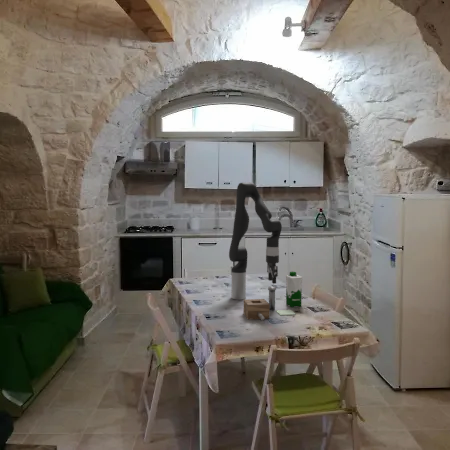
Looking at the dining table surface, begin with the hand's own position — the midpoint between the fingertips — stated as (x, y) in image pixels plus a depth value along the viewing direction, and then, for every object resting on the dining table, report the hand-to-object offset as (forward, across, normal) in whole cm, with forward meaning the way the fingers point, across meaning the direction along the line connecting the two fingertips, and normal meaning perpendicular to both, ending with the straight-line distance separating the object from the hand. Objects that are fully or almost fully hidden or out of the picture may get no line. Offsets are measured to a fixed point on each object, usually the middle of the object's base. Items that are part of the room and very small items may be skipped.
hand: (272, 281), depth 271 cm
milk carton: (+17, -8, +16) cm, 25 cm away
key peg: (+17, 0, 0) cm, 17 cm away
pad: (+17, +8, +6) cm, 19 cm away
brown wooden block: (+17, +15, -12) cm, 26 cm away
